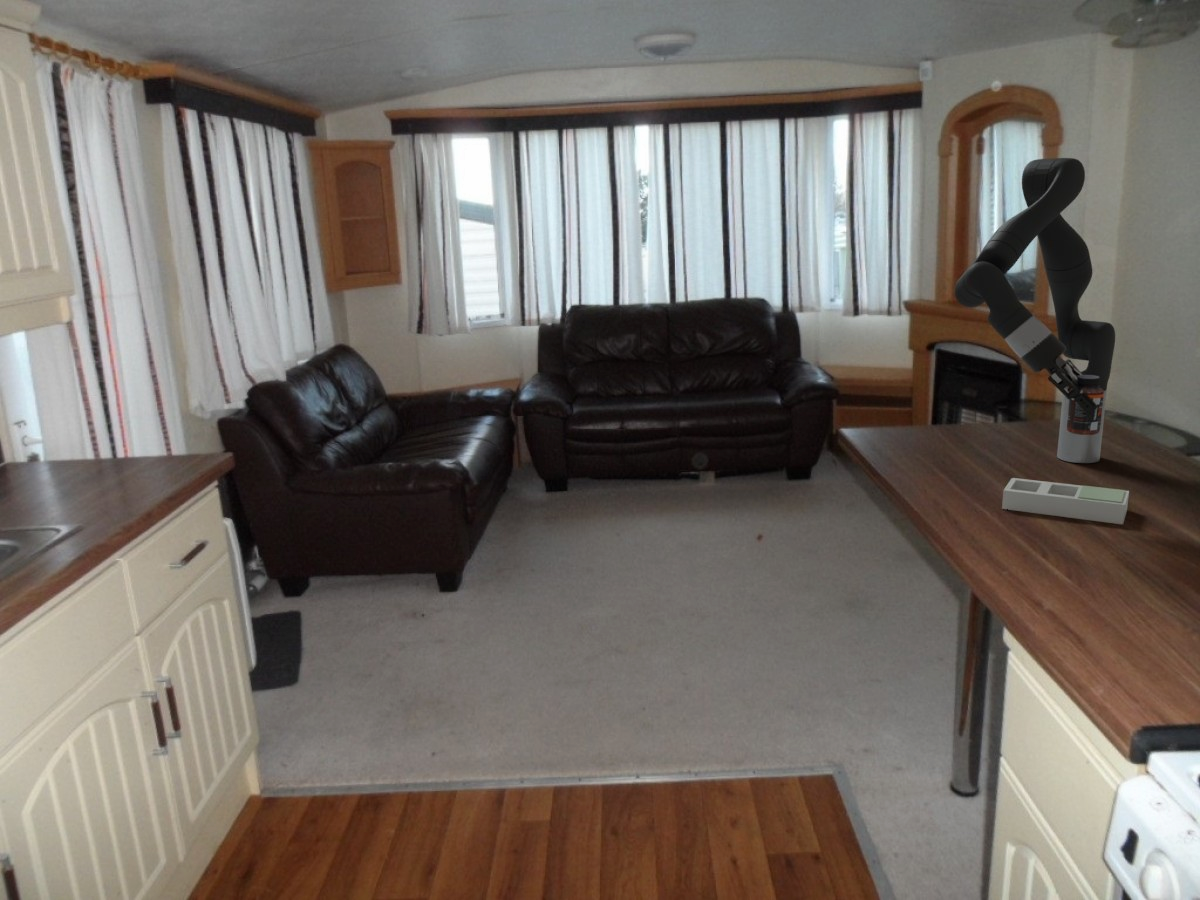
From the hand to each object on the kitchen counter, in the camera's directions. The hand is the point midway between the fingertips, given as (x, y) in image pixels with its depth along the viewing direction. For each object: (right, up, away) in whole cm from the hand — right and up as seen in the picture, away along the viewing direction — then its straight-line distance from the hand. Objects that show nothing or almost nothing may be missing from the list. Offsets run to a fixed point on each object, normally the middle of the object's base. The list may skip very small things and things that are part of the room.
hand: (1095, 406), depth 185 cm
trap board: (-3, -21, +7) cm, 22 cm away
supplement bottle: (-1, -5, +2) cm, 6 cm away
